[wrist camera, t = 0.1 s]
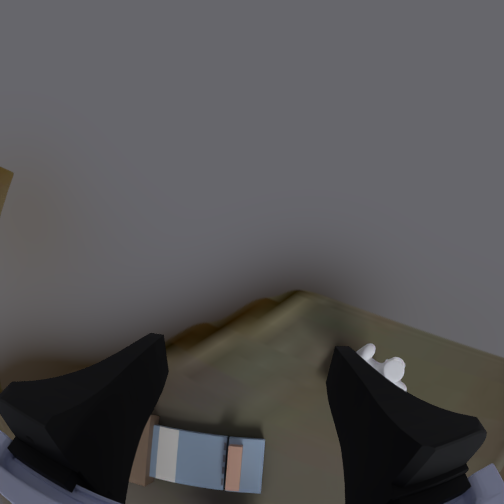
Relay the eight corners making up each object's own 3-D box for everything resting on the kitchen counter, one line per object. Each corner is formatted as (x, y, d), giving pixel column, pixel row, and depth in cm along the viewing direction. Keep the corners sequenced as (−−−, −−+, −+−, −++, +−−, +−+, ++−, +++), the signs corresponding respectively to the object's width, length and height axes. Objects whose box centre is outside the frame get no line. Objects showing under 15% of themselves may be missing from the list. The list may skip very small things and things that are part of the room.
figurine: (359, 419, 35) (406, 415, 22) (317, 385, 38) (348, 369, 26) (384, 385, 37) (435, 365, 25) (344, 352, 41) (382, 321, 29)
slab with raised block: (260, 489, 28) (261, 498, 24) (226, 487, 29) (223, 495, 24) (264, 438, 33) (265, 441, 29) (230, 436, 34) (227, 439, 29)
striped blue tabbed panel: (223, 494, 28) (221, 501, 25) (136, 476, 28) (126, 480, 25) (229, 427, 35) (227, 428, 31) (142, 412, 35) (132, 411, 32)
